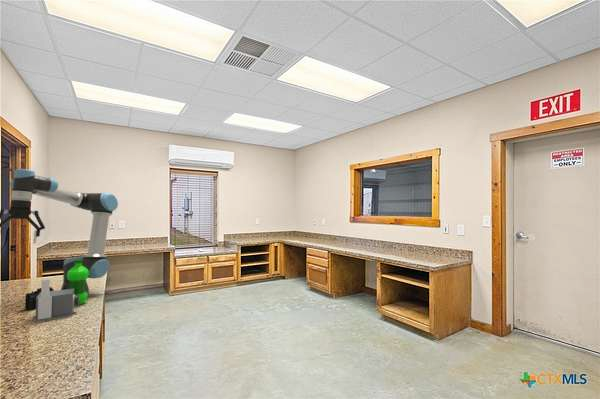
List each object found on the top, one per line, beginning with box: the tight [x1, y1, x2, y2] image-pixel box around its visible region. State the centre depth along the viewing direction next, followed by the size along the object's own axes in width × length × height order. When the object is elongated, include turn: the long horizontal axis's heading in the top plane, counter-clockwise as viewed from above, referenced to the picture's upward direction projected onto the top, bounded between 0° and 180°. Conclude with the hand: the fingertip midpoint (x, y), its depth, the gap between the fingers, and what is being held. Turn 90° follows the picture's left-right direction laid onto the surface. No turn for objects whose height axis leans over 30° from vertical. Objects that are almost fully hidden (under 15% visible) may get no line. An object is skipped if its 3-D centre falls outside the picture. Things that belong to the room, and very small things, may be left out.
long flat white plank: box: [38, 278, 52, 320], centre depth 147 cm, size 1×5×18 cm, turn 123°
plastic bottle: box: [67, 259, 89, 306], centre depth 173 cm, size 10×10×25 cm
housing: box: [35, 289, 80, 323], centre depth 155 cm, size 13×16×11 cm
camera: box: [24, 286, 55, 312], centre depth 167 cm, size 14×11×10 cm
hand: (16, 243), depth 149 cm, fingers open, 13 cm apart
